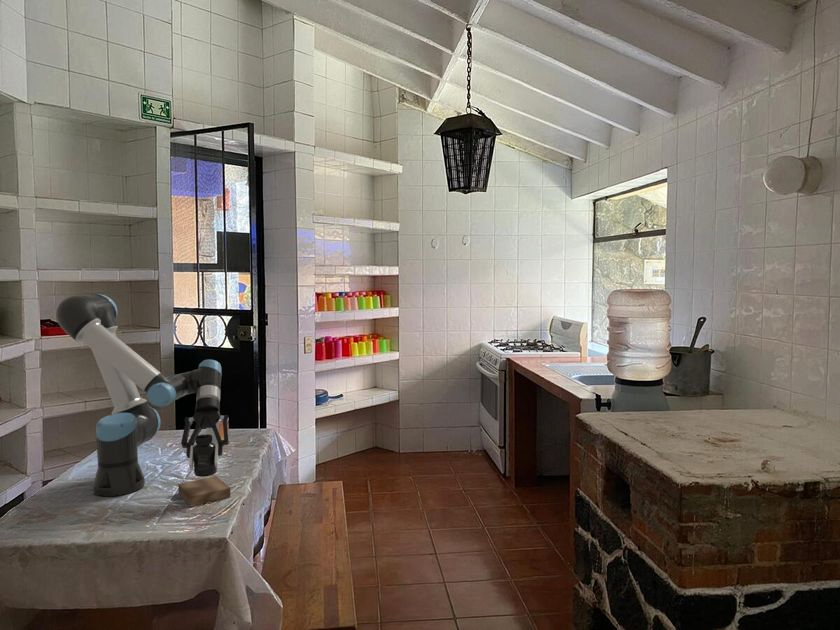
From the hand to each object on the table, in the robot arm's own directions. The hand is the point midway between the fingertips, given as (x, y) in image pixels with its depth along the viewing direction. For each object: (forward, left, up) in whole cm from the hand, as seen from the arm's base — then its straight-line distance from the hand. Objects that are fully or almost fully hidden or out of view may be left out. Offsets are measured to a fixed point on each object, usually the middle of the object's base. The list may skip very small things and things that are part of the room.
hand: (203, 465), depth 187 cm
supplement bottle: (+2, +3, -4) cm, 5 cm away
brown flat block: (+1, +4, -11) cm, 11 cm away
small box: (+23, +55, -11) cm, 60 cm away
